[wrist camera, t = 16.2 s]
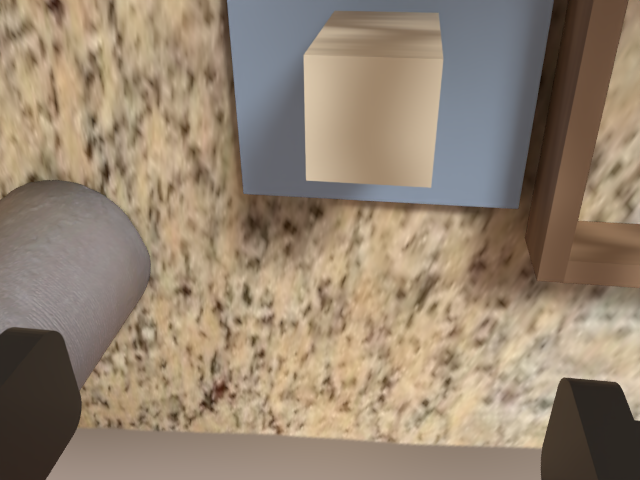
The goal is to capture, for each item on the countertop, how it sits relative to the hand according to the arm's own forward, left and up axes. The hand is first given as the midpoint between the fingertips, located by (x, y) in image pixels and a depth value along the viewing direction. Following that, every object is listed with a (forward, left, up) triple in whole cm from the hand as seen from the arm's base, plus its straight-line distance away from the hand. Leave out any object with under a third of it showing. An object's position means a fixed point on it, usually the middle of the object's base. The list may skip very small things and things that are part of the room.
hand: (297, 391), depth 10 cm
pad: (0, 0, -22) cm, 22 cm away
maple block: (0, 0, -21) cm, 21 cm away
